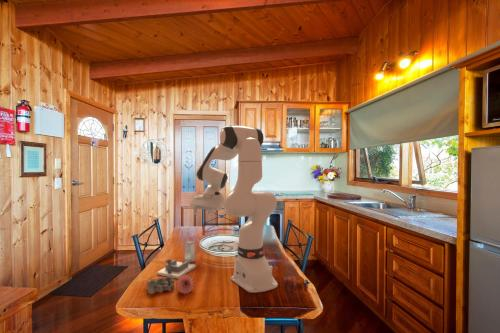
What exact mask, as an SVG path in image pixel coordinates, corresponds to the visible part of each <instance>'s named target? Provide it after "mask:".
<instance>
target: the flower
mask: <svg viewBox="0 0 500 333" xmlns="http://www.w3.org/2000/svg"><path fill="white" fill-rule="evenodd" d="M188 274H189V273H186V274H185V275H184V274H183V276H181V275H180V276H181V277H180V278H177V279H178V280H176V282H177V283H175V285H176V286H177V287H176V289H177V290H178V292H180V293H181V294H183V295H186V294H187V295H189V293H192V291H193V290H194V287H195V285H194V284H195V281H194V280H195V279H194V278H193V276H190V275H191V274H189V275H188ZM193 281H194V282H193Z"/></svg>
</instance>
